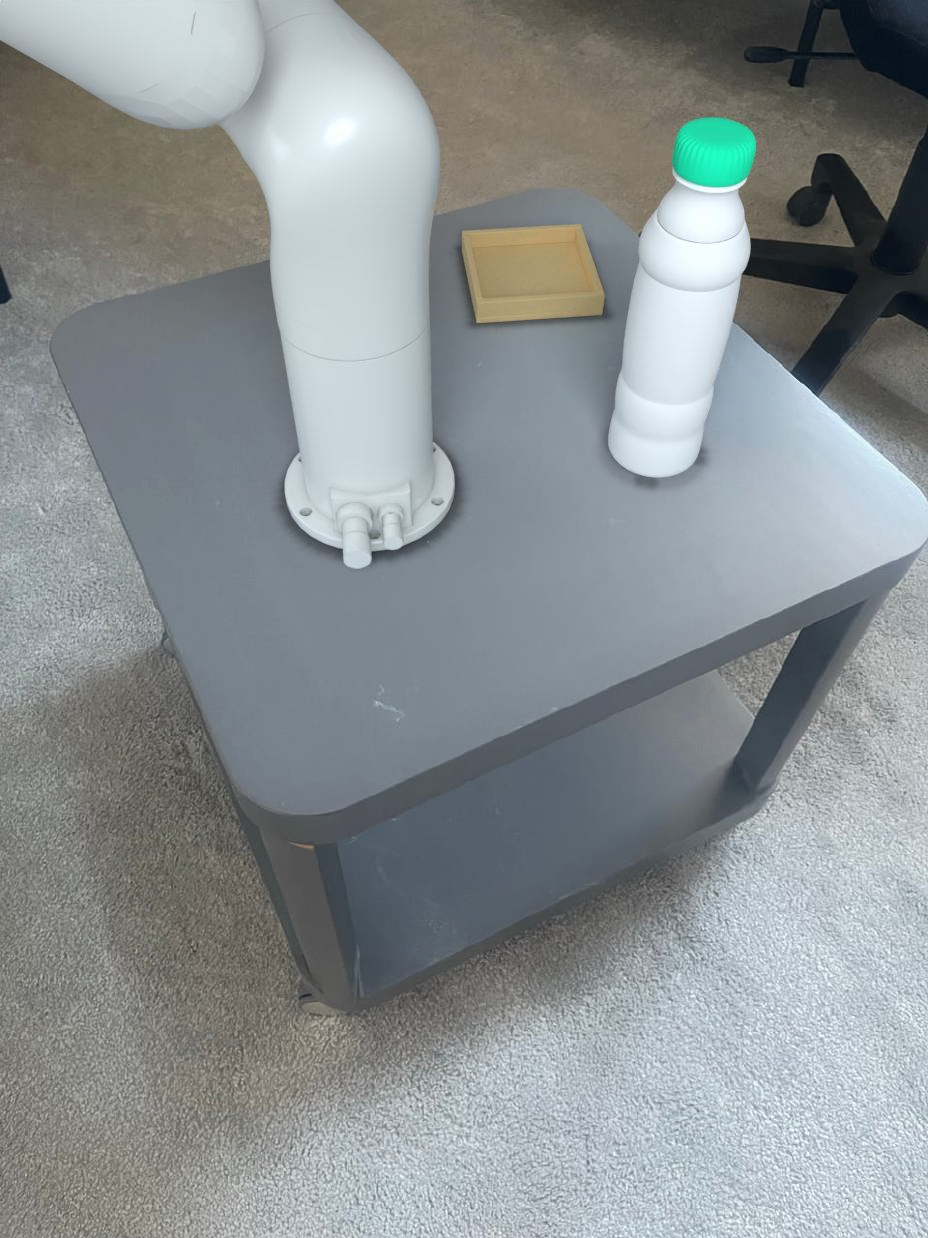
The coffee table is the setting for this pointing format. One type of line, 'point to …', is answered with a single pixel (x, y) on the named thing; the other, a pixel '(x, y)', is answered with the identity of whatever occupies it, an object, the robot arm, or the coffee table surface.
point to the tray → (531, 273)
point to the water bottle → (683, 301)
